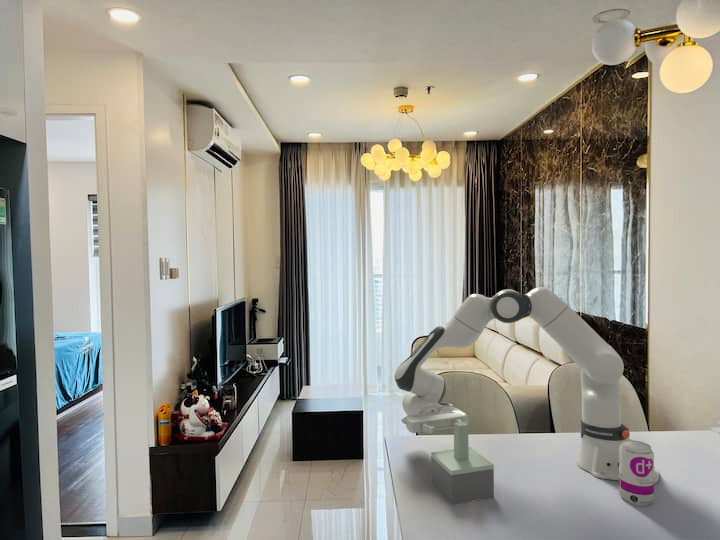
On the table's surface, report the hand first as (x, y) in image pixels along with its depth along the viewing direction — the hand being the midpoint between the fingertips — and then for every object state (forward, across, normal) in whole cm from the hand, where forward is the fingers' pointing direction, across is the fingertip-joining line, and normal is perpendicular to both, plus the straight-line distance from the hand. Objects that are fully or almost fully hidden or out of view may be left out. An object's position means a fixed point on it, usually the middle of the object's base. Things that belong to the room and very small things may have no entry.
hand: (447, 429), depth 144 cm
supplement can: (+28, +43, +15) cm, 53 cm away
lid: (+9, 0, +8) cm, 12 cm away
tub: (+9, 0, +14) cm, 17 cm away
